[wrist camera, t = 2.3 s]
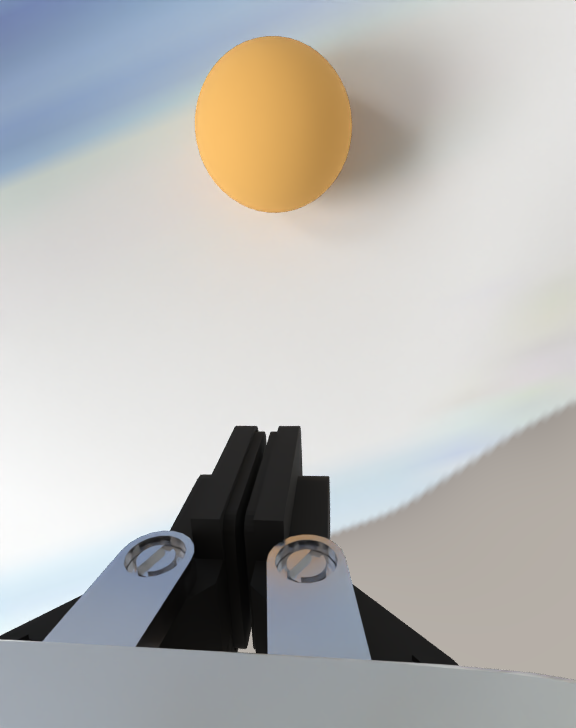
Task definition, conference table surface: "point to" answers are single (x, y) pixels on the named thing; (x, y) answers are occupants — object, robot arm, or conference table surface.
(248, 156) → the ball
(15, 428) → the conference table surface
